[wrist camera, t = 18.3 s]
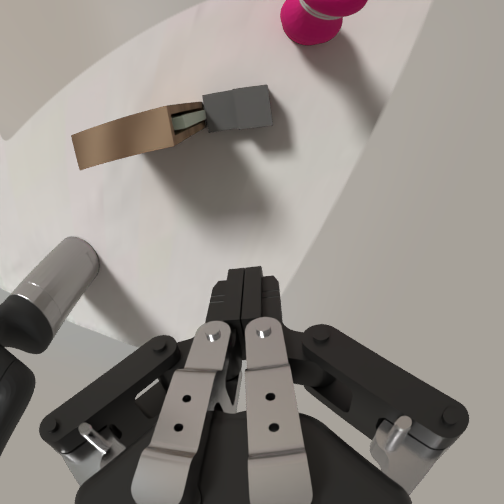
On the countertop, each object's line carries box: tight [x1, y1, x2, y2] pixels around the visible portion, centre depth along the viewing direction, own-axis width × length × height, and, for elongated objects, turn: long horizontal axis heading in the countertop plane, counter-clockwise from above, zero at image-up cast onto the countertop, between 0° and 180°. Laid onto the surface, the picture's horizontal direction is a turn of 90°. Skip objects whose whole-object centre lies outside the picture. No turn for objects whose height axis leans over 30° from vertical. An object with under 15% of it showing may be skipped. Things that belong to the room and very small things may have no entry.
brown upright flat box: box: [71, 102, 206, 170], centre depth 30 cm, size 10×4×16 cm, turn 98°
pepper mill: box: [280, 0, 368, 45], centre depth 21 cm, size 7×7×20 cm
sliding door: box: [171, 110, 206, 130], centre depth 31 cm, size 12×1×12 cm, turn 98°
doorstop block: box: [202, 85, 273, 133], centre depth 34 cm, size 8×5×5 cm, turn 98°
